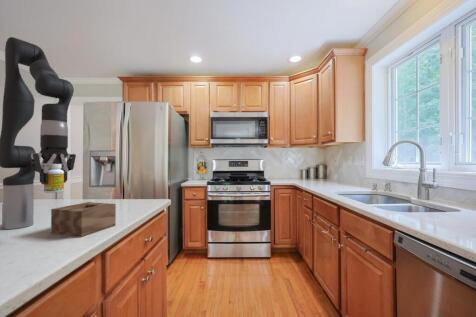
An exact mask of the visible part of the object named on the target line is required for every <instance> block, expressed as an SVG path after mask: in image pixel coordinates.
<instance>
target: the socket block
mask: <svg viewBox="0 0 476 317" xmlns="http://www.w3.org/2000/svg"><path fill="white" fill-rule="evenodd" d="M116 207H117V206H116V203H105V202H93V201H91V202H90V201H87V202H81V203H77V204H70V205H66V206H61V207H54V208H51V209H50V211H51V212H50V215H51V217H50V218H51V219H50V220H51V222H50V233H51V234H56V235H63V236H70V237H79V238H84V237H86V236H89V235H92V234H95V233H98V232H101V231H104V230H106V229H110V228H112V227H115V226H116V219H117V218H116V212H117V211H116V210H117V209H116Z"/></svg>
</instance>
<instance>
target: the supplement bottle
mask: <svg viewBox="0 0 476 317" xmlns="http://www.w3.org/2000/svg"><path fill="white" fill-rule="evenodd" d="M47 173H48V184H43V192H44V193H45V194H50V193H51V194H54V193H55V194H56V193H62V192H64V191H65V189H64V188H65V186H64V185H65V183H64V171H63V170H61V164H52V165H51V167H49V169H48V172H47Z"/></svg>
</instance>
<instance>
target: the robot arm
mask: <svg viewBox="0 0 476 317" xmlns="http://www.w3.org/2000/svg"><path fill="white" fill-rule="evenodd" d="M46 56H47V55H46V54H45V52H44V50H43V49H42V48H41V46H38V45H36V44H35V43H34V44H33V43H31V42H28V41H27V40H26V41H25V40H23V39H19V38H16V37H14V36H13V37H12V36H11V37H8V38H7V40H6V42H5V47H4V61H5V62H4V63H5V64H4V66H5V69H4V70H5V77H4V79H5V80H4V88H3V89H4V90H3V97H2V98H3V99H2V116H1V117H2V118H1V129H0V130H1V131H0V168H3V169H19V170H18V171H17V172H16V173H14V174H12V175H10V176H6V177H4V178H3V179H2V204H1V228H2V229H3V230H15V229H23V228H27V227H30V226H33V225H34V210H35V209H34V207H35V205H34V204H35V203H34V202H35V201H34V197H35V196H34V195H35V194H34V193H35V192H34V185H35V184H34V181H35V177H36V173H38V174H39V183H41V185H44V184H48V173H47V172H48V169H49V167H51V165H52V164H61V170H63V171H64V184H65V183H67V181H68V172H70V171H73V170H74V169H75V168H74V167H75V163H76V162H75V161H76V157H77V155H76V154H75V153H72V154H71V153H68V147H69V129H68V128H69V126H68V112H69V111H68V110H69V106H70V103H71V101H72V98H73V94H74V85H73V84H72V83H71V81H69V80H67V79H64V78H60V77H59V76H58V73H57V72H56V71H55V70H54V69H53V68H52V67H51V65H50V63H49V61H48V59H47V57H46ZM19 65H22V66H26V67H29V70H28V71H29V73H30V75H31V78H33V79H34V81H35V82H34V88H35V91H36V92H37V93H38V94H39V95H41V96H44V97H49V98H53V99H58V102H57V103H44V104H42V106H41V122H40V131H39V132H40V138H39V141H40V142H39V144H40V145H39V146H40V151H39V152H36V149H35V148H34V147H33V146H30V145H15V143H16V139H17V136H18V134H19V133H20V131H21V130H22V129H23V128H24V127H25V126H26V125H27V124H28V123H29V122H30V121H31V120H32V118H33V116H34V115H35V113H34V112H35V102H36V101H35V97H34V94H32V91H31V90H30V88H29V87H28V86H27V84H26V83H25V81H24V79H23V77H22V75H21V72H20V66H19ZM41 158H42V161H41V160H40V159H41Z"/></svg>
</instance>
